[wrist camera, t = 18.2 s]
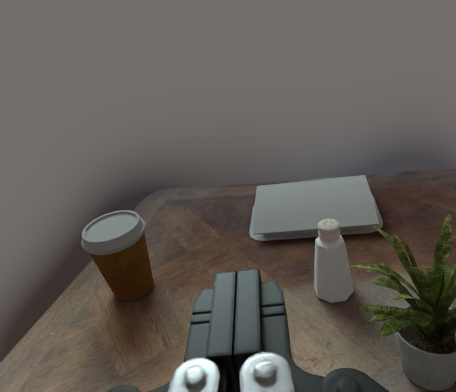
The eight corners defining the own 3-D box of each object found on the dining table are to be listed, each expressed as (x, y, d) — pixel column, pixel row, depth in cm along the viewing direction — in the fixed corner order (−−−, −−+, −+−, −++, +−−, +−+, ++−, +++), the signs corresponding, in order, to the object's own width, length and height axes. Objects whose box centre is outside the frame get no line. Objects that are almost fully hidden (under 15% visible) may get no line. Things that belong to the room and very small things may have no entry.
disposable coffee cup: (122, 268, 70) (100, 209, 64) (172, 269, 67) (152, 207, 61) (93, 307, 62) (64, 244, 56) (148, 310, 59) (123, 244, 53)
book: (254, 199, 83) (251, 183, 81) (370, 188, 78) (369, 170, 77) (247, 242, 70) (244, 223, 68) (386, 231, 65) (386, 211, 63)
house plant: (369, 302, 52) (366, 192, 45) (495, 325, 46) (515, 201, 38) (345, 395, 42) (335, 272, 34) (505, 442, 35) (535, 303, 28)
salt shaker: (355, 279, 57) (352, 213, 52) (351, 306, 52) (348, 236, 47) (317, 275, 59) (310, 211, 54) (310, 301, 55) (302, 234, 50)
